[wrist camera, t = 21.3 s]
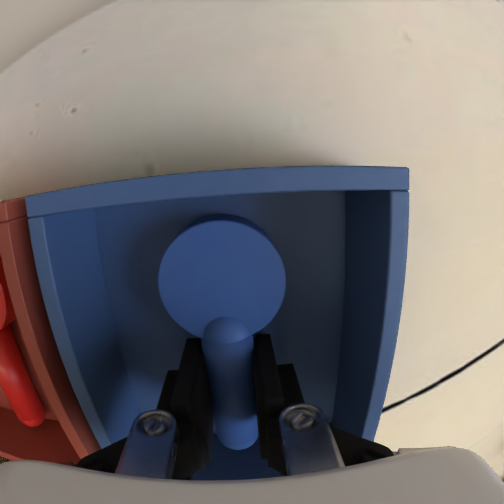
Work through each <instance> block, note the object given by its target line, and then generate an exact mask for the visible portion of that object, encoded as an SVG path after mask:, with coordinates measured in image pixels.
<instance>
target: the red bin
mask: <svg viewBox="0 0 504 504" xmlns="http://www.w3.org/2000/svg"><path fill="white" fill-rule="evenodd" d="M28 219H29V218H28V217H27V211H26V202H25V197H23V198H17V199H12V200H7V201H3V202H0V253H1V258H2V263H3V268H4V273H5V277H6V281H7V285H8V289H9V293H10V297H11V301H12V304H13V308H14V311H15V314H16V319H14V320H13V321H12V322H11V323H10V326H11V329H12V332H13V335H14V337H15V340H16V343H17V346H18V348H19V351H20V354H21V356H22V359H23V361H24V364H25V366H26V369H27V371H28V373H29V376H30V378H31V380H32V383H33V385H34V387H35V389H36V391H37V394H38V396H39V398H40V400H41V402H42V404H43V406H44V409H45V418H44V421H43V422H42V423H41V424H40V425H39V426H36V427H30V426H27V425H25V424H23V423H22V422H21V421H20V420H19V419H18V417H17V416H16V414H15V412H14V410H13V408H12V407H11V405H10V403H9V401H8V399H7V397H6V395H5V393H4V391H3V389H2V387H1V385H0V456H1V457H4V458H6V459H9V460H12V461H14V460H36V461H45V462H52V463H59V462H73V464H77V463H78V462H79V461H80V460H81V459H82V458H84V457H85V456H88V455H90V454H92V453H94V452H96V451H98V450H101V447H100V445H99V443H98V441H97V439H96V437H95V435H94V433H93V431H92V429H91V427H90V425H89V423H88V421H87V419H86V417H85V415H84V413H83V410H82V408H81V406H80V404H79V401H78V399H77V397H76V394H75V392H74V390H73V387H72V385H71V382H70V380H69V377H68V375H67V372H66V369H65V367H64V364H63V361H62V359H61V356H60V353H59V350H58V347H57V344H56V341H55V338H54V335H53V332H52V328H51V325H50V322H49V318H48V315H47V311H46V308H45V304H44V300H43V296H42V292H41V288H40V284H39V279H38V275H37V270H36V265H35V260H34V255H33V250H32V244H31V238H30V232H29V225H28Z"/></svg>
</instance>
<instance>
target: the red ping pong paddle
mask: <svg viewBox="0 0 504 504" xmlns="http://www.w3.org/2000/svg"><path fill="white" fill-rule="evenodd" d="M14 319H16V314H15V311H14V308H13V304H12V301H11V297H10V293H9V289H8V285H7V281H6V277H5V273H4V268H3V263H2V258H1V253H0V385H1V387H2V389H3V391H4V393H5V395H6V397H7V399H8V401H9V403H10V405H11V407H12V408H13V410H14V412H15V414H16V416H17V417H18V419H19V420H20V421H21V422H22V423H23V424H25V425H27V426H30V427H36V426H39V425H40V424H41V423H42V422H43V421H44V418H45V409H44V406H43V404H42V402H41V400H40V398H39V396H38V394H37V391H36V389H35V387H34V385H33V383H32V380H31V378H30V376H29V373H28V371H27V369H26V366H25V364H24V361H23V359H22V356H21V354H20V351H19V348H18V346H17V343H16V340H15V337H14V335H13V332H12V329H11V326H10V323H11V322H12V321H13V320H14Z"/></svg>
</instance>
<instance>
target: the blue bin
mask: <svg viewBox="0 0 504 504" xmlns="http://www.w3.org/2000/svg"><path fill="white" fill-rule="evenodd" d="M407 190H409V168H407V167H385V166H285V167H260V168H241V169H225V170H211V171H199V172H188V173H177V174H167V175H158V176H149V177H141V178H133V179H125V180H118V181H111V182H104V183H97V184H91V185H85V186H79V187H73V188H67V189H61V190H56V191H50V192H45V193H40V194H35V195H30V196H27V197H25V202H26V211H27V217H28V218H29V219H28V225H29V232H30V238H31V244H32V250H33V255H34V260H35V265H36V270H37V275H38V279H39V284H40V288H41V292H42V296H43V300H44V304H45V308H46V311H47V315H48V318H49V322H50V325H51V328H52V332H53V335H54V338H55V341H56V344H57V347H58V350H59V353H60V356H61V359H62V361H63V364H64V367H65V369H66V372H67V375H68V377H69V380H70V382H71V385H72V387H73V390H74V392H75V394H76V397H77V399H78V401H79V404H80V406H81V408H82V410H83V413H84V415H85V417H86V419H87V421H88V423H89V425H90V427H91V429H92V431H93V433H94V435H95V437H96V439H97V441H98V443H99V445H100V447H101V449H103V448H105V447H107V446H109V445H111V444H113V443H115V442H117V441H119V440H121V439H123V438H125V437H127V436H128V435H129V432H130V429H131V427H132V424H133V421H134V420H135V418H136V417H137V416H138V415H140V414H141V413H143V412H145V411H149V410H155V409H156V408H157V405H158V401H159V398H160V394H161V391H162V388H163V384H164V381H165V378H166V374H167V372H168V370H179V366H180V362H181V358H182V354H183V351H184V347H185V343H186V339H187V338H200V337H197V336H195V335H193V334H191V333H189V332H187V331H186V330H184V329H183V328H181V327H180V326H179V325H178V324H177V323H176V322H175V321H174V320H173V319H172V318H171V317H170V315H169V314H168V312H167V311H166V309H165V307H164V306H163V304H162V301H161V298H160V295H159V291H158V283H157V276H158V268H159V264H160V261H161V258H162V256H163V254H164V252H165V250H166V248H167V247H168V245H169V244H170V243H171V242H172V240H173V239H174V238H175V237H176V236H177V235H178V234H179V233H180V232H181V231H182V230H183V229H184V228H185V227H186V226H188V225H189V224H191V223H192V222H194V221H196V220H198V219H200V218H203V217H206V216H210V215H217V214H227V215H234V216H238V217H242V218H244V219H247V220H249V221H251V222H252V223H254V224H256V225H257V226H258V227H260V228H261V229H262V230H263V231H264V232H265V233H266V234H267V235H268V236H269V238H270V239H271V240H272V242H273V244H274V246H275V248H276V249H277V251H278V253H279V255H280V257H281V259H282V262H283V264H284V269H285V274H286V289H285V295H284V298H283V301H282V304H281V306H280V308H279V310H278V312H277V313H276V315H275V316H274V317H273V319H272V320H271V321H270V322H269V323H268V324H267V325H266V326H265V327H263V328H262V329H261V330H259V331H258V332H256V333H254V334H253V338H256V335H257V334H270V336H271V341H272V345H273V350H274V354H275V359H276V363H277V365H279V364H290V363H293V365H294V368H295V372H296V375H297V378H298V382H299V385H300V388H301V392H302V395H303V398H304V402H305V403H309V404H313V405H316V406H318V407H319V408H321V409H322V410H323V412H324V413H325V415H326V418H327V420H328V423H329V425H330V426H333V427H335V428H338V429H340V430H343V431H345V432H348V433H351V434H353V435H356V436H359V437H361V438H364V439H367V440H370V441H374V437H375V434H376V430H377V427H378V423H379V420H380V416H381V412H382V408H383V404H384V400H385V396H386V391H387V387H388V382H389V378H390V373H391V368H392V363H393V358H394V352H395V347H396V341H397V335H398V329H399V322H400V315H401V307H402V299H403V291H404V281H405V271H406V259H407V243H408V222H409V192H408V191H407ZM273 477H279V472H278V471H276V470H275V469H273V468H271V467H268V463H267V459H265V460H261V454H260V444H259V435H258V438H257V440H256V441H255V443H254V444H253V445H252V446H250V447H248V448H246V449H242V450H234V449H230V448H228V447H226V446H224V445H223V444H222V443H221V441H220V440H219V439H218V436H217V433H216V428H215V422H214V421H213V437H212V455H211V462H206V467H205V470H198V471H197V472H195V473H194V474H193V478H194V480H204V481H215V480H247V479H262V478H273Z"/></svg>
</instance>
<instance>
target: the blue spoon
mask: <svg viewBox="0 0 504 504" xmlns="http://www.w3.org/2000/svg"><path fill="white" fill-rule="evenodd" d="M157 283H158V291H159V295H160V298H161V301H162V304H163V306H164V307H165V309H166V311H167V312H168V314H169V315H170V317H171V318H172V319H173V320H174V321H175V322H176V323H177V324H178V325H179V326H180V327H181V328H183V329H184V330H186V331H187V332H189V333H191V334H193V335H195V336H197V337H200V338H201V344H202V351H203V353H204V359H205V365H206V372H207V378H208V384H209V390H210V396H211V402H212V407H213V413H214V422H215V428H216V433H217V436H218V439H219V440H220V441H221V443H222V444H223V445H224V446H226V447H228V448H230V449H234V450H242V449H246V448H248V447H250V446H252V445H253V444H254V443H255V441H256V440H257V438H258V435H259V434H258V424H257V414H256V400H255V385H254V369H253V354H252V351H253V349H254V340H253V334H254V333H256V332H258V331H259V330H261V329H262V328H263V327H265V326H266V325H267V324H268V323H269V322H270V321H271V320H272V319H273V317H274V316H275V315H276V313H277V312H278V310H279V308H280V306H281V304H282V301H283V298H284V295H285V289H286V274H285V269H284V264H283V262H282V259H281V257H280V255H279V253H278V251H277V249H276V248H275V246H274V244H273V242H272V240H271V239H270V238H269V236H268V235H267V234H266V233H265V232H264V231H263V230H262V229H261V228H260V227H258V226H257V225H256V224H254V223H252V222H251V221H249V220H247V219H244V218H242V217H238V216H234V215H227V214H217V215H210V216H206V217H203V218H200V219H198V220H196V221H194V222H192V223H191V224H189V225H188V226H186V227H185V228H184V229H183V230H182V231H181V232H180V233H179V234H178V235H177V236H176V237H175V238H174V239H173V240H172V242H171V243H170V244H169V245H168V247H167V248H166V250H165V252H164V254H163V256H162V258H161V261H160V264H159V268H158V276H157Z"/></svg>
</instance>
